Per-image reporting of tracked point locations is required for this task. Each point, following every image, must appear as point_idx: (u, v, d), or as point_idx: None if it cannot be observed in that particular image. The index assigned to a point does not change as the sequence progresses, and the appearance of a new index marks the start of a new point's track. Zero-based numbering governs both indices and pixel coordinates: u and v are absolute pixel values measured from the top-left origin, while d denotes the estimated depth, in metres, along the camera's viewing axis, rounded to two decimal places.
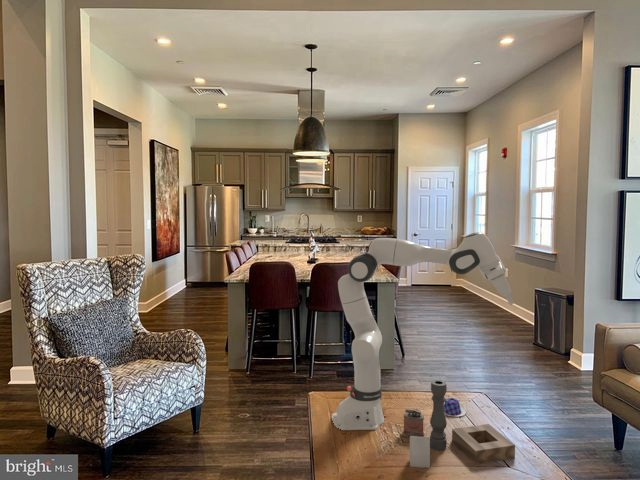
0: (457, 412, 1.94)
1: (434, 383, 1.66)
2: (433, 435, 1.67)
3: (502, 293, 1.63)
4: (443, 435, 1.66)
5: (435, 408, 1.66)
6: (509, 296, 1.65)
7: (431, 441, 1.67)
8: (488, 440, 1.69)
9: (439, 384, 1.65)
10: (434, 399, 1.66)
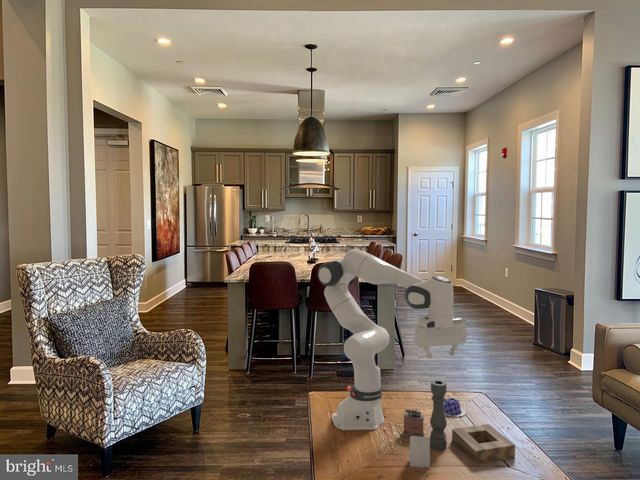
0: (457, 412, 1.94)
1: (434, 383, 1.66)
2: (433, 435, 1.67)
3: (414, 341, 1.64)
4: (443, 435, 1.66)
5: (435, 408, 1.66)
6: (425, 349, 1.64)
7: (431, 441, 1.67)
8: (488, 440, 1.69)
9: (439, 384, 1.65)
10: (434, 399, 1.66)
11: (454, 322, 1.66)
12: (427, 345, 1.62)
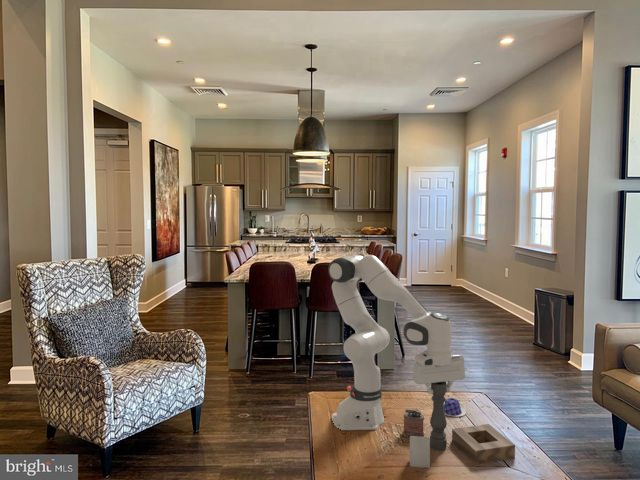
0: (457, 412, 1.94)
1: (434, 383, 1.66)
2: (433, 435, 1.67)
3: (412, 377, 1.66)
4: (443, 435, 1.66)
5: (435, 408, 1.66)
6: (426, 385, 1.65)
7: (431, 441, 1.67)
8: (488, 440, 1.69)
9: (439, 384, 1.65)
10: (434, 399, 1.66)
11: (452, 359, 1.67)
12: (425, 382, 1.64)
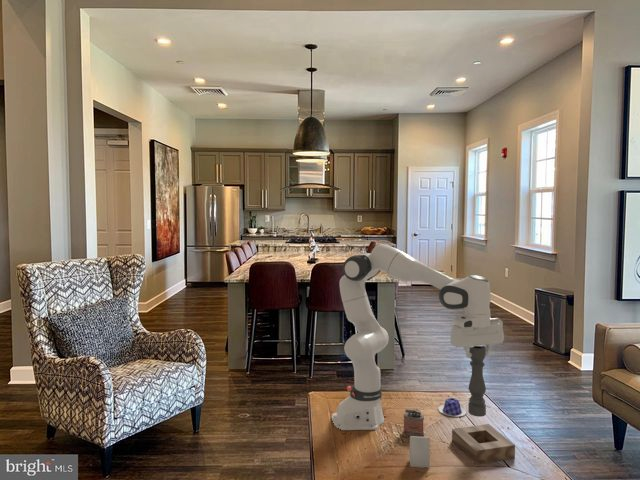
0: (457, 412, 1.94)
1: (473, 347, 1.63)
2: (472, 401, 1.63)
3: (451, 341, 1.62)
4: (482, 401, 1.63)
5: (474, 373, 1.63)
6: (465, 349, 1.62)
7: (470, 407, 1.64)
8: (488, 440, 1.69)
9: (478, 348, 1.62)
10: (473, 364, 1.63)
11: (491, 321, 1.64)
12: (464, 345, 1.60)
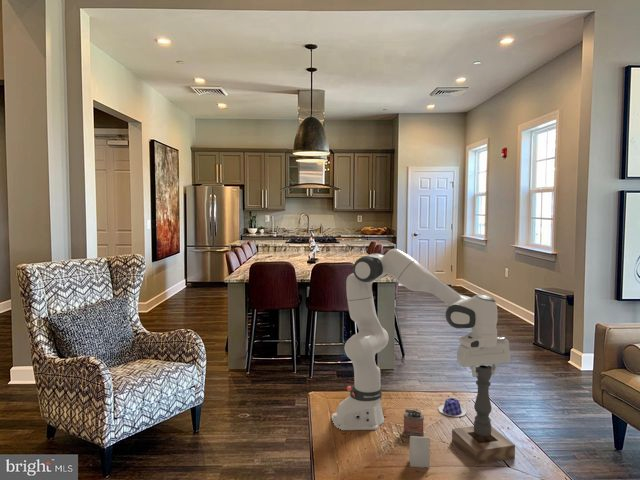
0: (457, 412, 1.94)
1: (479, 367, 1.63)
2: (478, 420, 1.64)
3: (457, 360, 1.63)
4: (488, 420, 1.63)
5: (480, 392, 1.63)
6: (471, 368, 1.62)
7: (476, 426, 1.64)
8: (488, 440, 1.69)
9: (484, 368, 1.62)
10: (479, 383, 1.63)
11: (497, 341, 1.64)
12: (470, 365, 1.61)
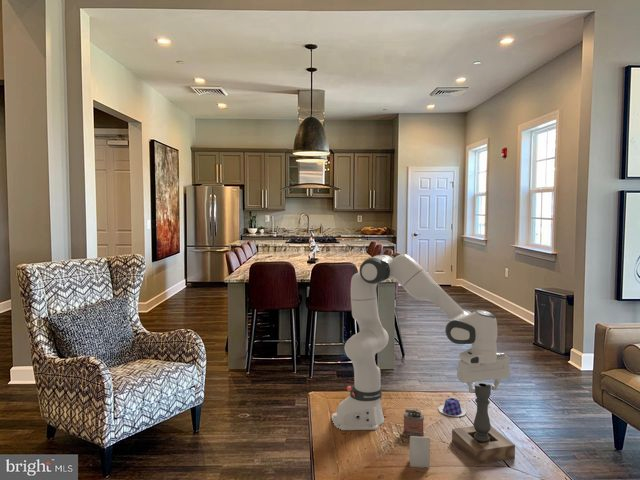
0: (457, 412, 1.94)
1: (478, 385, 1.64)
2: (477, 438, 1.65)
3: (457, 376, 1.63)
4: (487, 438, 1.64)
5: (479, 411, 1.64)
6: (468, 384, 1.62)
7: None
8: None
9: (484, 386, 1.62)
10: (478, 402, 1.63)
11: (497, 357, 1.64)
12: (470, 380, 1.61)
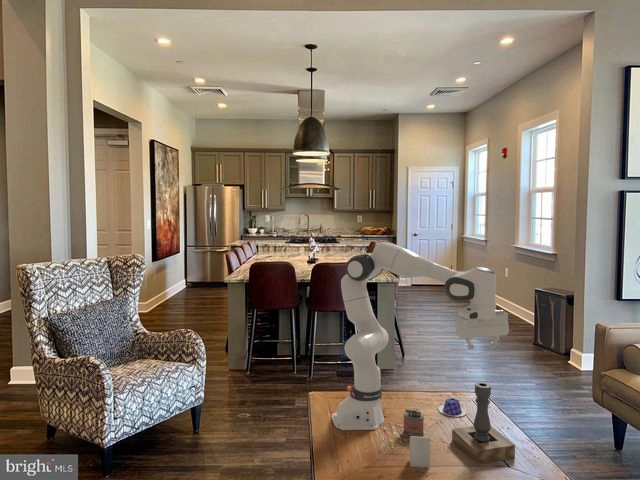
0: (457, 412, 1.94)
1: (478, 385, 1.64)
2: (477, 438, 1.65)
3: (456, 332, 1.63)
4: (487, 438, 1.64)
5: (479, 411, 1.64)
6: (467, 340, 1.62)
7: None
8: None
9: (484, 386, 1.63)
10: (478, 401, 1.64)
11: (496, 313, 1.64)
12: (469, 336, 1.61)
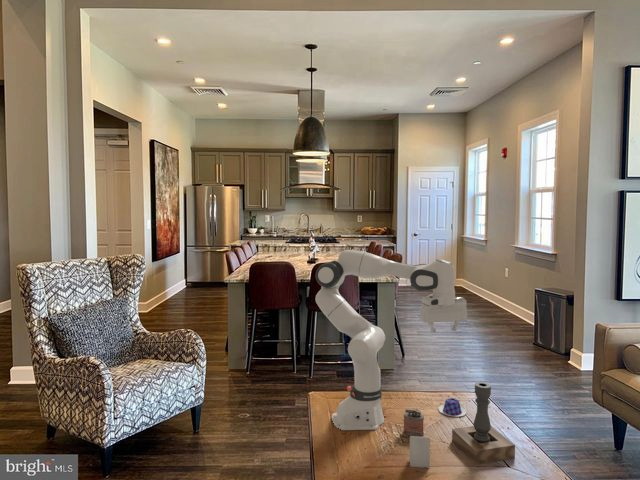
0: (457, 412, 1.94)
1: (478, 385, 1.64)
2: (477, 438, 1.65)
3: (420, 317, 1.83)
4: (487, 438, 1.64)
5: (479, 411, 1.64)
6: (430, 325, 1.83)
7: None
8: None
9: (484, 386, 1.63)
10: (478, 401, 1.64)
11: (456, 301, 1.85)
12: (431, 321, 1.81)
